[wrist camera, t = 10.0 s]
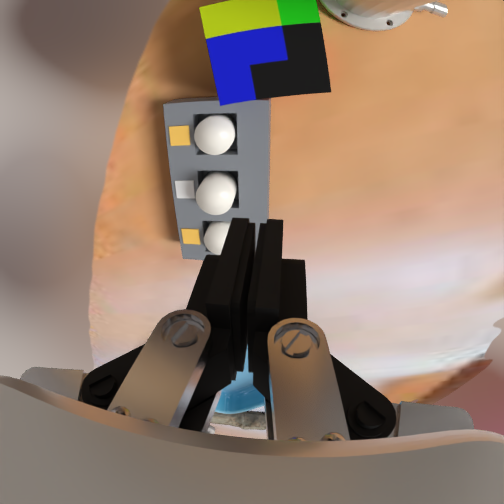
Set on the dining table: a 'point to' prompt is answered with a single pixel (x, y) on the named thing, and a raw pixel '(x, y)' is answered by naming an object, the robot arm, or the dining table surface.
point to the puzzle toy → (265, 49)
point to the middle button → (216, 192)
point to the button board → (217, 165)
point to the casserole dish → (240, 394)
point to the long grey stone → (241, 420)
